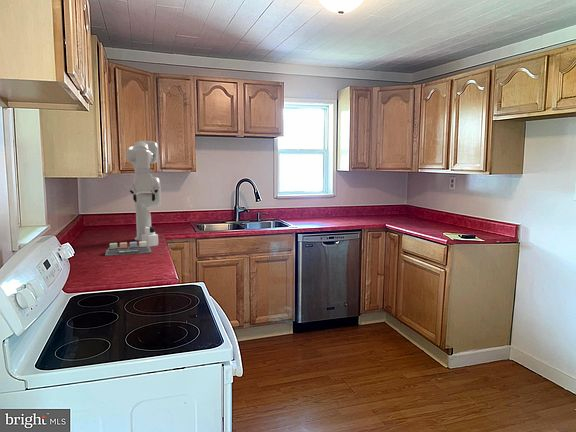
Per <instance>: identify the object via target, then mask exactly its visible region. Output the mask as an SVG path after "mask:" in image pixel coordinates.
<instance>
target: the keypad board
mask: <svg viewBox="0 0 576 432" xmlns="http://www.w3.org/2000/svg"><path fill="white" fill-rule="evenodd" d="M151 248H152V247H148V246H146V247H140V246H139V245H137V247H131V248H130V246H127V248H120V246H119V247H118V246H117V248H116V249H110V247H108V248H107V249H106V250H105V254H104V257H112V256H113V255H115V256H125V255H127V256H128V255H139V254H153V253H152V249H151ZM113 257H114V256H113Z"/></svg>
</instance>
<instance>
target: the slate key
mask: <svg viewBox="0 0 576 432" xmlns="http://www.w3.org/2000/svg"><path fill="white" fill-rule="evenodd" d="M137 246H138V241H130V242H129V247H130V248H131V247H137Z"/></svg>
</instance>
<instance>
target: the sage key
mask: <svg viewBox="0 0 576 432" xmlns="http://www.w3.org/2000/svg"><path fill="white" fill-rule="evenodd" d="M117 247H118V242H111V243H109V248H110V249H116V248H117Z"/></svg>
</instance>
